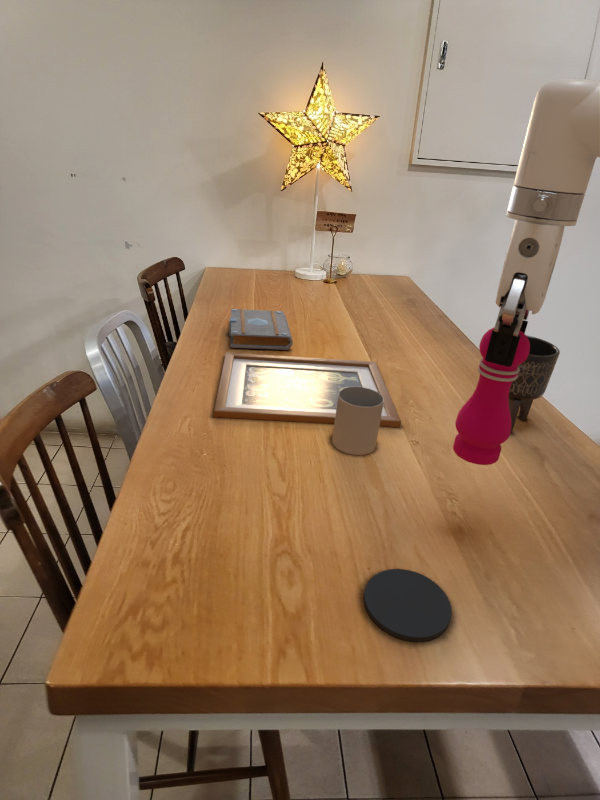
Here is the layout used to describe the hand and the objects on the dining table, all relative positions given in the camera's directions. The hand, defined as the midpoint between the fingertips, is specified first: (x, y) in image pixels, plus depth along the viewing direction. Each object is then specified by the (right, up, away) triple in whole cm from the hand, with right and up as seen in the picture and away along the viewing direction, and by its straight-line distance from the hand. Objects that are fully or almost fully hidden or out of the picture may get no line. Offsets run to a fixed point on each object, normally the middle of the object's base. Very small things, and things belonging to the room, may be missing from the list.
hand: (503, 354), depth 69 cm
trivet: (-12, -32, 0) cm, 34 cm away
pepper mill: (-1, -13, +7) cm, 15 cm away
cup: (-16, -14, +35) cm, 41 cm away
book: (-37, +12, +82) cm, 91 cm away
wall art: (-25, -4, +54) cm, 60 cm away
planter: (+19, -10, +49) cm, 53 cm away
